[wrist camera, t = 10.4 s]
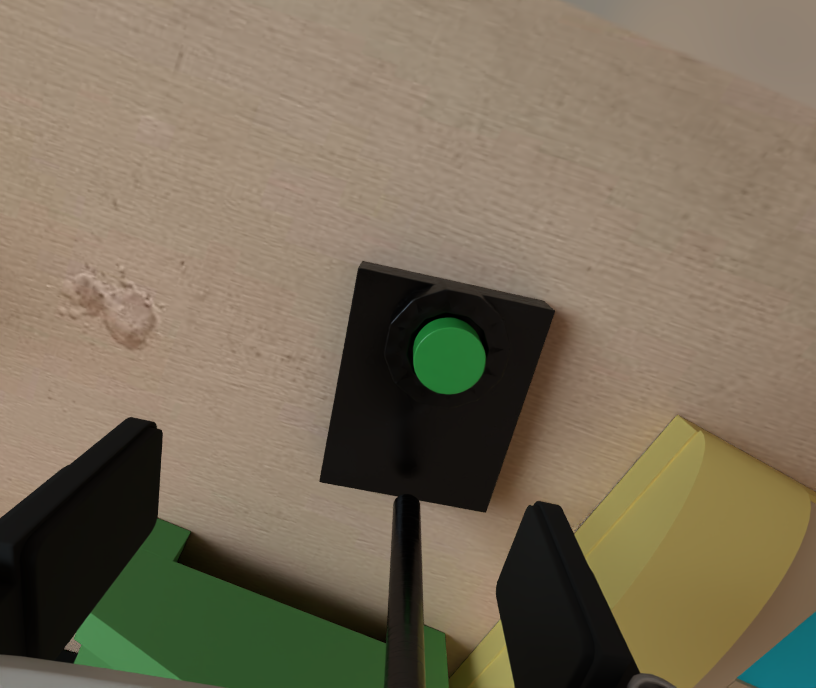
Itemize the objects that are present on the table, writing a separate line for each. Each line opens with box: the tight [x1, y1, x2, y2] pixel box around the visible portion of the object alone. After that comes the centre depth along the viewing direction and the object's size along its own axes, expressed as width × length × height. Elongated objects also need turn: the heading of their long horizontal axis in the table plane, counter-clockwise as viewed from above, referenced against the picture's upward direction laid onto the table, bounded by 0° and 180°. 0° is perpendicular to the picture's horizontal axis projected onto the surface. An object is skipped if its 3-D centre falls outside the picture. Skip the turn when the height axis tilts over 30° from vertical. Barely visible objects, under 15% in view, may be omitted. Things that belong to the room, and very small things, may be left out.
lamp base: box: [319, 261, 555, 513], centre depth 27 cm, size 14×11×4 cm
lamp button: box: [413, 318, 486, 394], centre depth 23 cm, size 4×4×2 cm
